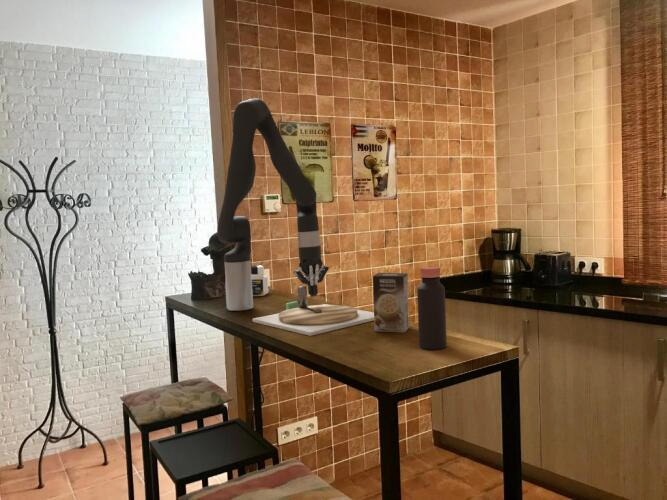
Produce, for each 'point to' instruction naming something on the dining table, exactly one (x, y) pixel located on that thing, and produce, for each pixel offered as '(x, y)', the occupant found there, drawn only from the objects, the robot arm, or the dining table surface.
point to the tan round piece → (315, 312)
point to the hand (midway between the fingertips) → (313, 295)
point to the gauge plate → (313, 328)
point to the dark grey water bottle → (431, 310)
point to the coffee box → (390, 302)
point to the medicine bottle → (259, 281)
